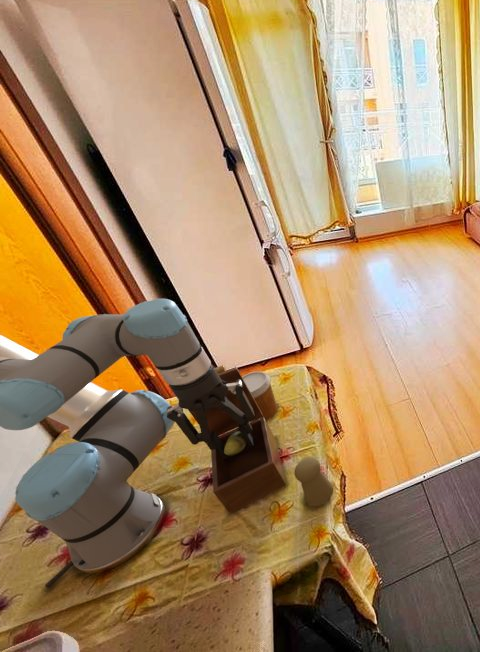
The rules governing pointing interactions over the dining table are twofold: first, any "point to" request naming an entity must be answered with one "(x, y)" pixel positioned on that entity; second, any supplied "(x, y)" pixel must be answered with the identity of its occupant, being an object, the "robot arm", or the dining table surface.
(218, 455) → the box
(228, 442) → the lime
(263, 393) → the disposable coffee cup
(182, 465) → the dining table surface
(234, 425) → the lid
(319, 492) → the tan rounded upright piece
